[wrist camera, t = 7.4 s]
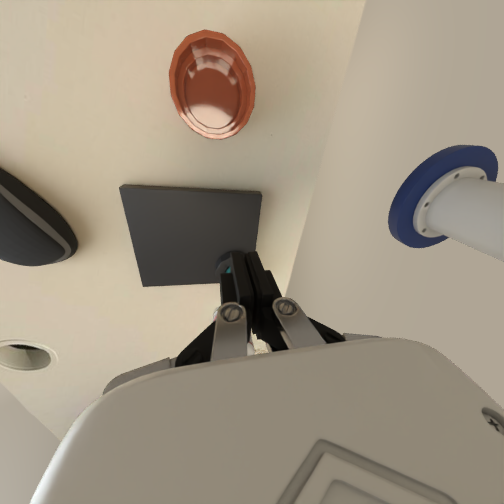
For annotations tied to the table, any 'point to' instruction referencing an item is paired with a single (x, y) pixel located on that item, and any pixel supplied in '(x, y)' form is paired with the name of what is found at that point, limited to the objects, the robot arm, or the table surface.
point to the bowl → (212, 84)
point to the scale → (189, 231)
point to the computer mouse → (31, 227)
